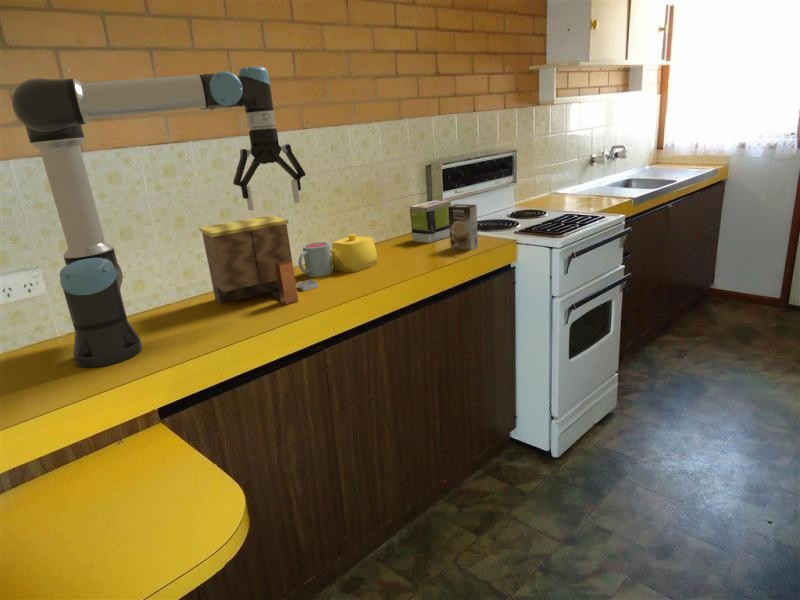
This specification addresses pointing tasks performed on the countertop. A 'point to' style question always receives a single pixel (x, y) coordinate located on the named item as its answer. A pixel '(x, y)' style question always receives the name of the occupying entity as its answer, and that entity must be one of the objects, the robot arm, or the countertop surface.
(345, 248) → the teapot
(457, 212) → the coffee box
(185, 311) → the countertop surface
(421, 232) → the tea box
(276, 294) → the upright terracotta brick
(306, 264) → the mug
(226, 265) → the cabinet
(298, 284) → the token
